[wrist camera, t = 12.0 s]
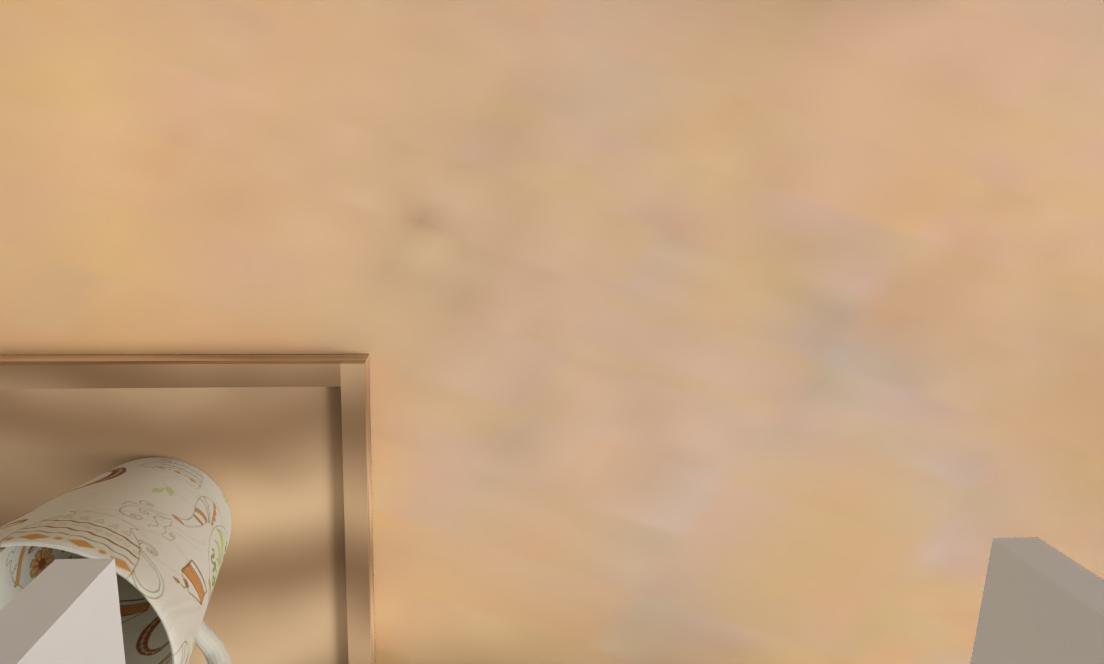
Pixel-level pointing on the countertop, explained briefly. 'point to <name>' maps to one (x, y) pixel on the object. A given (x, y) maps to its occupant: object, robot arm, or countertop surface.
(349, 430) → the wooden tray
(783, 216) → the countertop surface
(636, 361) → the countertop surface
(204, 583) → the mug
